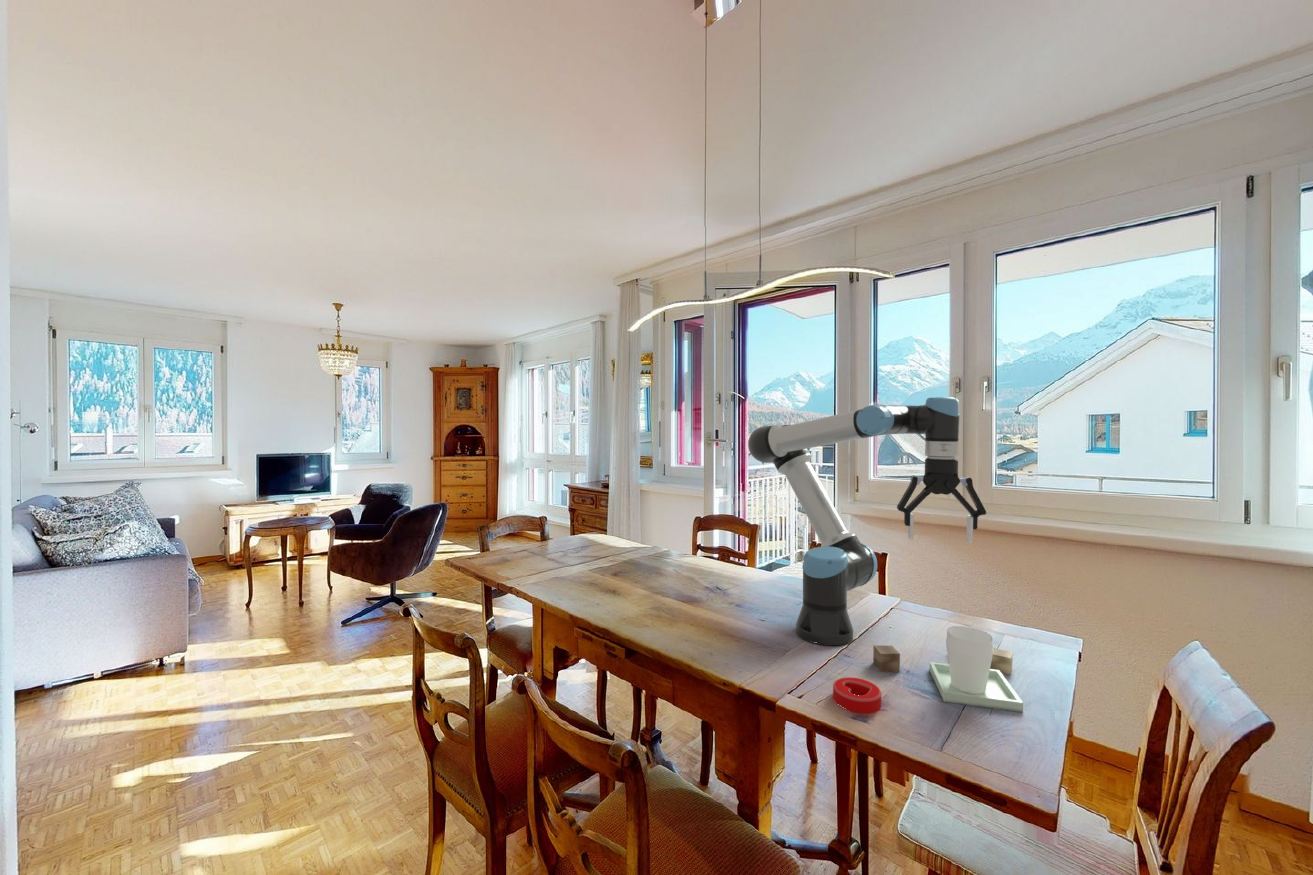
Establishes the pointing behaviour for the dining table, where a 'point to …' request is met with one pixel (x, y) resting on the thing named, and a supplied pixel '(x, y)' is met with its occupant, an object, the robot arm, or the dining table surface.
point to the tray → (994, 696)
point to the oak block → (1002, 661)
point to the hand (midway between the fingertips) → (939, 540)
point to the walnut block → (886, 658)
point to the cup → (969, 658)
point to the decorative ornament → (860, 704)
